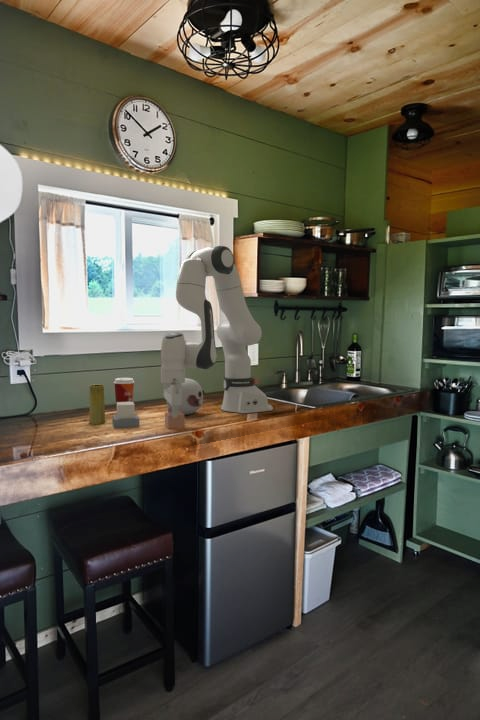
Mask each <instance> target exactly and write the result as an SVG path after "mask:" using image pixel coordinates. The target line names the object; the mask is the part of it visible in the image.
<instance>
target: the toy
mask: <svg viewBox="0 0 480 720" xmlns="http://www.w3.org/2000/svg"><path fill="white" fill-rule="evenodd" d="M181 387H182V406H181V407H178V412H182V413H183V414H184V415H185V416H187V415H192V414H194V413H195V412H197V411H199V409H200V408H201V407H202V405H203V403H204V395H205V391H204V389H203V388H202V386H201V385H200V383H199V382H197V381H196V379H192V378H187V377H185V382H184V383H181Z"/></svg>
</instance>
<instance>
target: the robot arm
mask: <svg viewBox="0 0 480 720" xmlns="http://www.w3.org/2000/svg"><path fill="white" fill-rule="evenodd" d="M234 257H235V256H234V254H233V252H232V250H231V249H230V248H229V247H227V246H225V245H217V246H210V247H204V248H202V249H199V250H195V251H192V252H190V253H189V254H188V255H187V256H186V257H185V260H183V261H182V263H181V265H180V267H179V271H178V276H177V279H176V280H177V281H176V287H175V298H176V299H175V300H176V301H177V303H178V305H180V306H181V307H182V308H183V309H185V310H187V311H189V312H191V313H192V314H195V315H197V317H198V318H199V320H200V330H201V341H187V340H185V335H184V334H183V333H181V332H169V333H166V334H164V335H163V337H162V339H161V340H162V341H161V349H160V358H161V359H160V360H161V366H160V383H162V391H163V398H164V399H165V400H166V405H167V412H172V417H173V418H177V412H178V407H181V406H182V387H181V383H184V382H185V378H186V368H197V369H202V370H208V369H210V368H212V367H213V366H214V365H215V364H216V362H217V358H218V353H217V346H216V340H215V339H216V338H215V332H216V335H217V336H216V337H217V338H218V339H219V342H220V343H221V346H222V350H223V355H224V376H223V390H224V393H223V398H222V399H223V400H222V405H221V407H220V409H221V410H222V411H225V412H228V413H229V412H230V413H238V414H250V413H251V414H252V413H260V412H270V411H273V410H274V407H273V406H272V405H271V404H269V401H268V396H267V395H266V394H265V392H264V391H262V390H261V389H260V388H259V387H257V386H256V385H257V384H258V382H259V380H258V378H253V377H252V375H251V372H252V371H251V370H252V360H251V358H250V356H249V355H248V351H247V349H246V347H248V346H253V345H256V344H258V343H259V342H260V341H261V338H262V335H263V334H262V333H263V332H262V328H261V326H260V324H258V322H256V321H255V319H254V317H253V315H252V314H251V311H250V309H249V308H248V305H247V303H246V299H245V294H244V293H245V292H244V289H243V286H242V280H241V277H240V274H239V272H238V271H239V270H238V268H237V265H236V264H235V258H234ZM207 277H213V279H214V286H215V290H216V291H215V292H216V297H217V301H218V306H219V309H220V311H221V312H222V313H223V314H224V315H225V317H226V319H225V320H223V321H220V322H219V324H218V325H217V327H216V331H215V327H214V326H215V323H214V313H213V306H212V303H211V302H210V301H209V300H208V299H207V297H206V285H207V284H206V282H207V280H206V278H207ZM185 367H186V368H185ZM255 384H256V385H255Z"/></svg>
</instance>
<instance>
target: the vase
mask: <svg viewBox="0 0 480 720" xmlns="http://www.w3.org/2000/svg"><path fill="white" fill-rule="evenodd" d="M104 392H105V385H104V384H101V383H100V384H99V383H98V384H97V383H96V384H91V385H89V414H88V415H89V420H88V423H89V424H90V425H100V424H105V423H106V422H107V421H106V409H105V408H106V407H105V393H104Z"/></svg>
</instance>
